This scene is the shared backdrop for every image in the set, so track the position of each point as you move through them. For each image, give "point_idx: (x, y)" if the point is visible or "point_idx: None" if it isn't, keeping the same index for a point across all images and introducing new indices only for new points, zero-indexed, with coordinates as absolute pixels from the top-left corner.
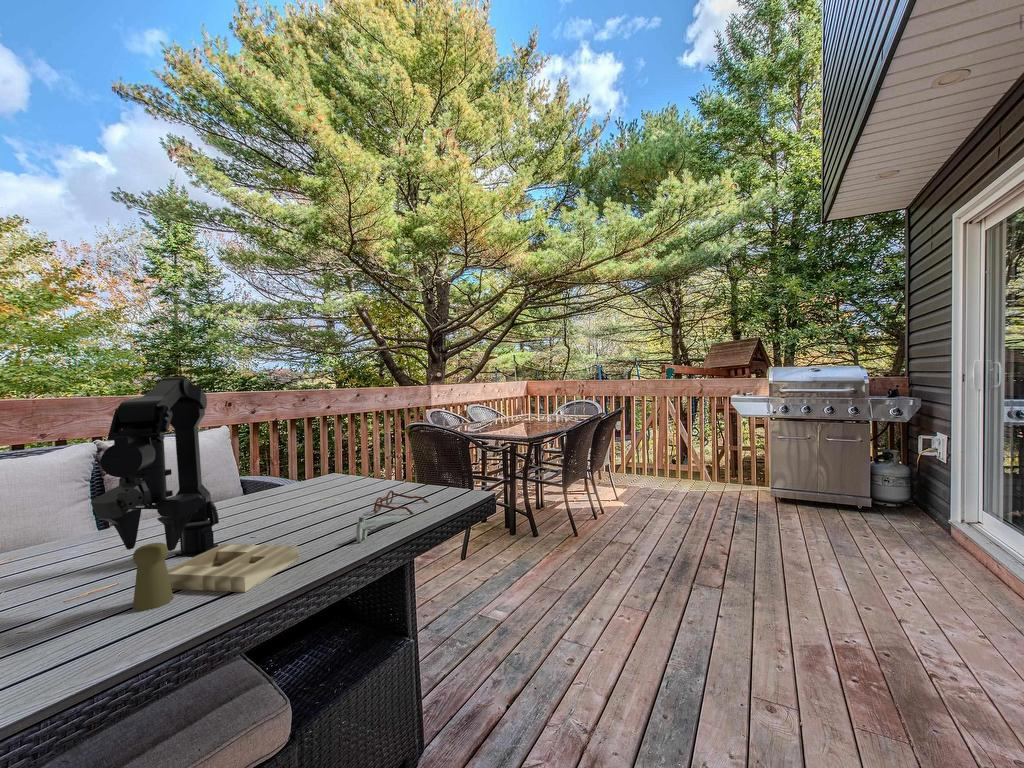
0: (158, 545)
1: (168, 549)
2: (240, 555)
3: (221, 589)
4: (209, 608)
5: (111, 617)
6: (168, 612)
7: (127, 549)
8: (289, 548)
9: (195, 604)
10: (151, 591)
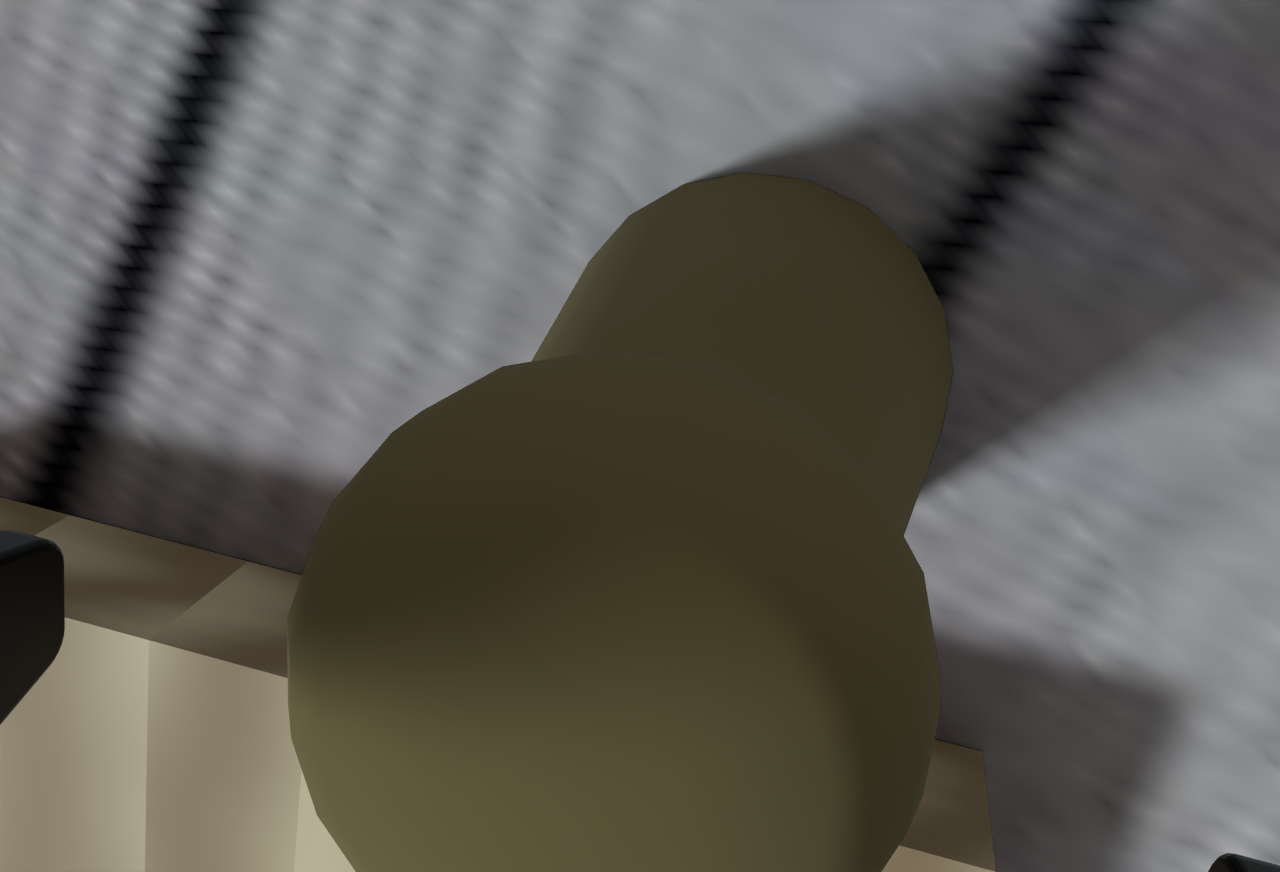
0: (349, 755)
1: (9, 538)
2: None
3: (161, 548)
4: (5, 161)
5: (1026, 35)
6: (380, 109)
7: (1267, 863)
8: None
9: (223, 273)
10: (607, 268)
